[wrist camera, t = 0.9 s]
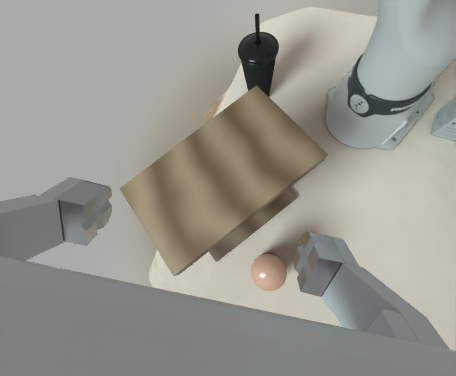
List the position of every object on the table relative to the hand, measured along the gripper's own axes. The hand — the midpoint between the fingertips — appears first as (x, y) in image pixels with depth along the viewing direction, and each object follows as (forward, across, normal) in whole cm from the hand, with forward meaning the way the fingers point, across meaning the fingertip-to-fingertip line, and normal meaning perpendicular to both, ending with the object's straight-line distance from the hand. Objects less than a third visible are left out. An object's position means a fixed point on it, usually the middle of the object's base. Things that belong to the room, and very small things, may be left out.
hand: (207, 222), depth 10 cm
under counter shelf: (+36, -5, +20) cm, 41 cm away
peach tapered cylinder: (+27, -13, +27) cm, 40 cm away
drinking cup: (+54, -5, -1) cm, 54 cm away
